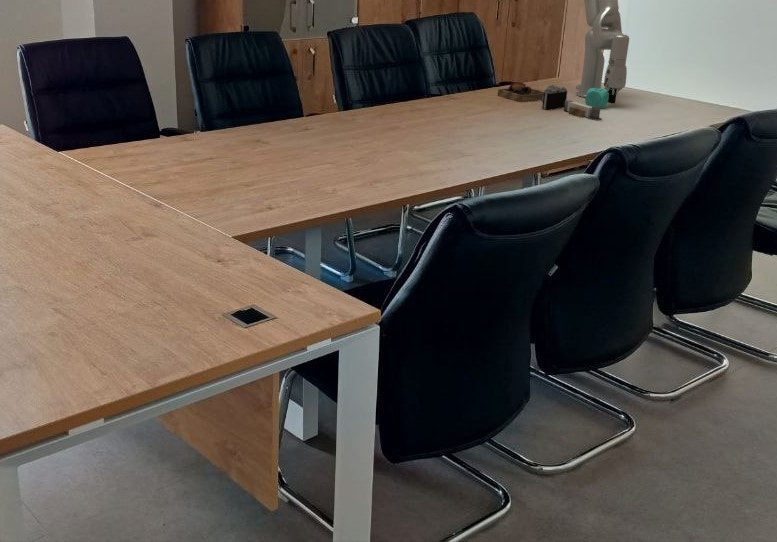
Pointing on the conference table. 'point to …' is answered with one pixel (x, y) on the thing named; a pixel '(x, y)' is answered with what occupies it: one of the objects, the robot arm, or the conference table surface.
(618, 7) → the robot arm
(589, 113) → the leg
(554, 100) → the camera
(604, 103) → the decorative dice
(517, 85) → the pottery mug
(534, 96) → the wooden picture frame
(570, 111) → the brown and grey piece
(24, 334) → the conference table surface
